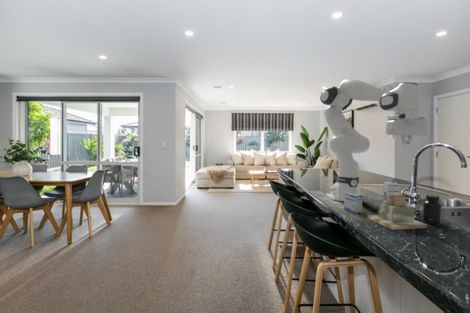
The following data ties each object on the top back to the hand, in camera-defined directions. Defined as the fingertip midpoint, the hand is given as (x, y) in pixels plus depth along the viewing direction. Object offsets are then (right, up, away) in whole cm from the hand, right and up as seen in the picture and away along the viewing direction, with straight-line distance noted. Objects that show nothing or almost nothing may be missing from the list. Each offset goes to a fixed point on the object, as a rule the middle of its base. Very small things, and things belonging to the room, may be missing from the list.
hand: (406, 144), depth 132 cm
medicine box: (-23, -34, +7) cm, 42 cm away
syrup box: (-3, -34, +8) cm, 35 cm away
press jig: (-13, -35, -13) cm, 39 cm away
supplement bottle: (+4, -35, -12) cm, 37 cm away
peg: (-13, -32, -13) cm, 37 cm away
